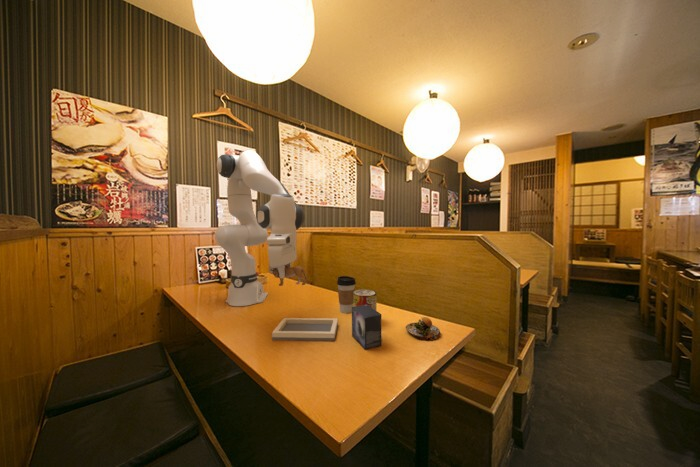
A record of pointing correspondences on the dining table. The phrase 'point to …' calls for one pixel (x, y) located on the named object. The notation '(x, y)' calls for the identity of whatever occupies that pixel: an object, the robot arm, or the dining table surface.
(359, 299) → the yellow food can
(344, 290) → the coffee cup
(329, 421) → the dining table surface
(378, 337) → the small box
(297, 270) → the lion figurine
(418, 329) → the plate of food
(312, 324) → the picture frame
